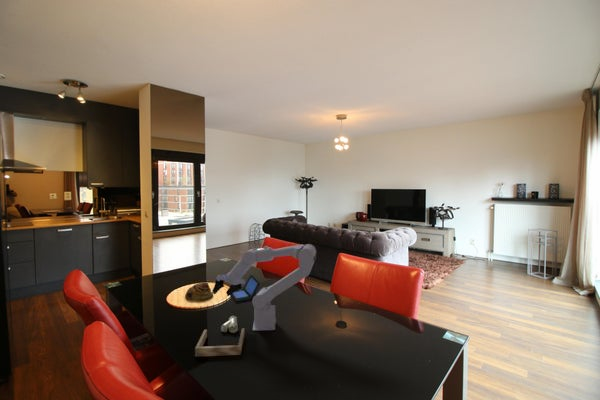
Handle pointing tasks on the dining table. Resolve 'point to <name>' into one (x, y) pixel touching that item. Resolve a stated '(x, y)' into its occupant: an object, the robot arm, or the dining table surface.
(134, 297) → the dining table surface
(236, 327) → the pipe fitting
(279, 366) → the dining table surface
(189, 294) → the brown swirled mound
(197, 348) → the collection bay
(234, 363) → the dining table surface
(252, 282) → the handheld game console
